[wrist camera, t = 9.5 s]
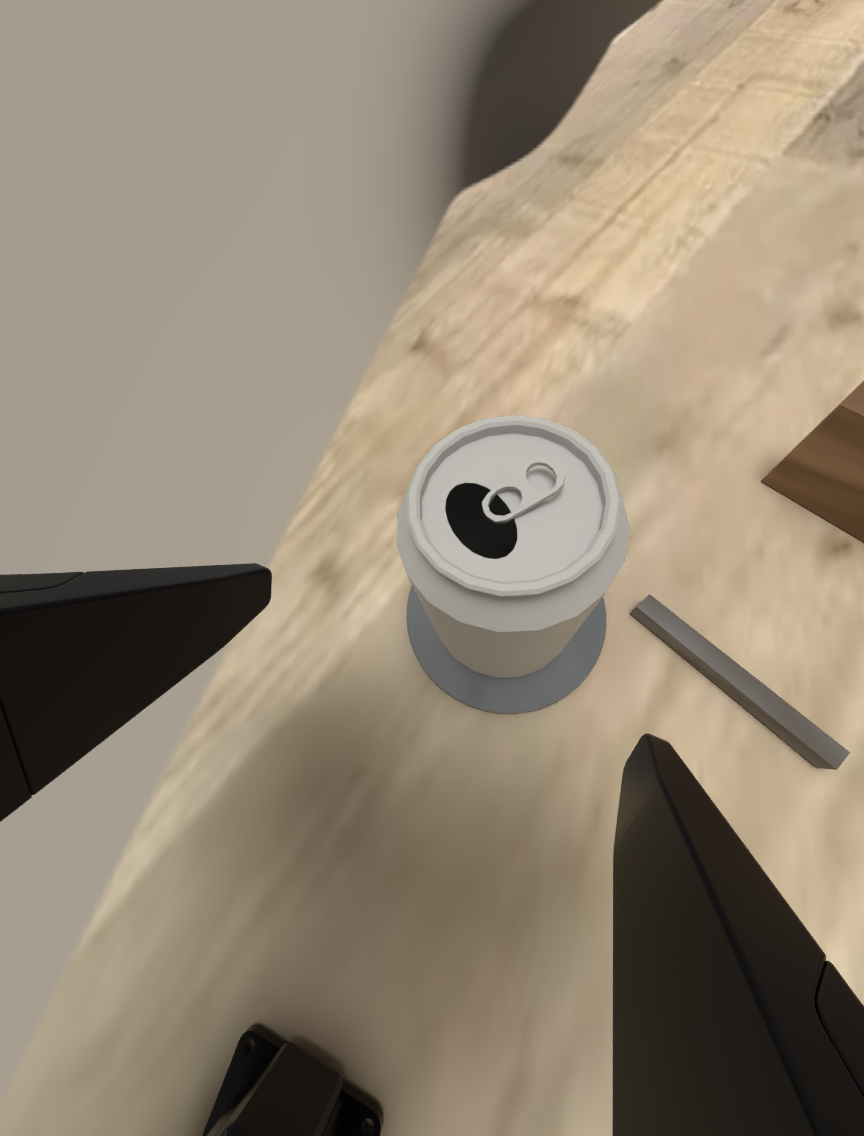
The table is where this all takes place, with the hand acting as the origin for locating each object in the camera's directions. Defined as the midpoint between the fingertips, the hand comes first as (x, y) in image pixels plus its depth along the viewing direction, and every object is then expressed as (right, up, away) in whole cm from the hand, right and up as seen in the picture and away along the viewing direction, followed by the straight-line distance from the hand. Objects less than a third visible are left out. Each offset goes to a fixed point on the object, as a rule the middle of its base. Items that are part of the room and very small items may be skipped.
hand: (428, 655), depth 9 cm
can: (+4, -1, +14) cm, 14 cm away
